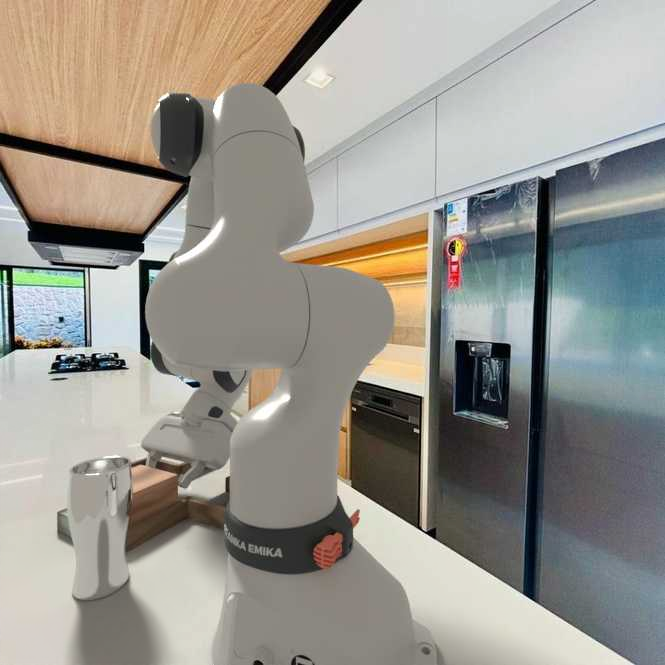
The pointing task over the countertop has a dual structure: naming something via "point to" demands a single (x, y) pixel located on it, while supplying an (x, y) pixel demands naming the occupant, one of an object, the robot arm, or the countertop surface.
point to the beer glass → (100, 524)
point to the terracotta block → (152, 491)
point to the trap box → (168, 510)
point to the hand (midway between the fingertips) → (162, 481)
